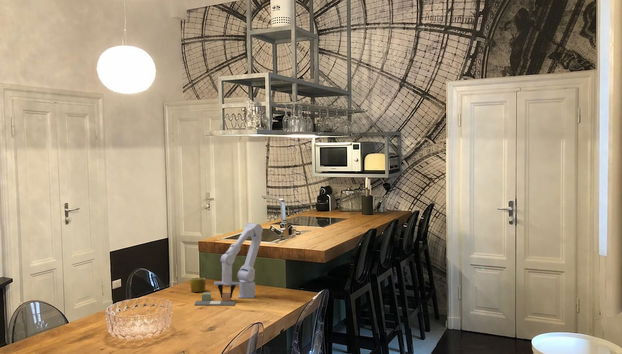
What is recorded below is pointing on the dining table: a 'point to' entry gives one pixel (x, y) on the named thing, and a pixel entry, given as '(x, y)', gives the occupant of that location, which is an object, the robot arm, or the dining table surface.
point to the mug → (198, 284)
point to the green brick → (206, 296)
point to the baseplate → (216, 303)
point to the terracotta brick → (226, 297)
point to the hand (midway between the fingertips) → (226, 297)
